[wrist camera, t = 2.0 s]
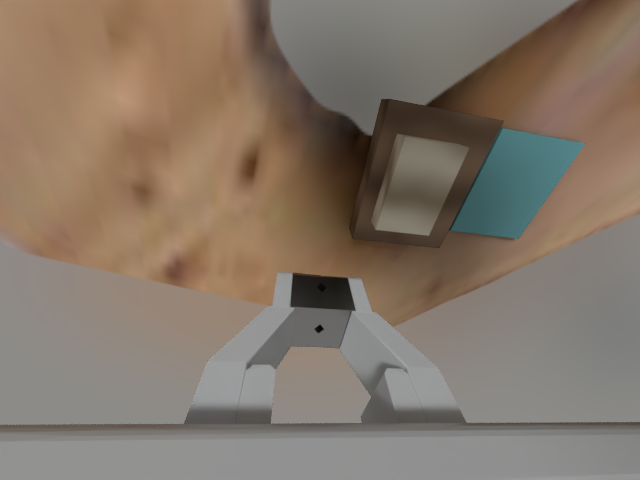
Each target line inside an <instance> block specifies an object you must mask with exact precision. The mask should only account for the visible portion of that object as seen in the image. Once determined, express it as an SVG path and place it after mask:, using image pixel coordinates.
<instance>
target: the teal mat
mask: <svg viewBox="0 0 640 480" xmlns="http://www.w3.org/2000/svg"><path fill="white" fill-rule="evenodd" d="M584 145H585V143H580V142H574V141H569V140H564V139H558V138H553V137H547V136H542V135H537V134H531V133H526V132H521V131H515V130H510V129H505V128H500V130H499V131H498V133H497V135H496V137H495V139H494V141H493V143H492V145H491V147H490V149H489V151H488V153H487V155H486V157H485V159H484V161H483V163H482V165H481V167H480V169H479V171H478V173H477V175H476V177H475V179H474V181H473V183H472V185H471V187H470V189H469V191H468V193H467V195H466V197H465V199H464V201H463V203H462V205H461V207H460V209H459V210H458V212H457V214H456V216H455V218H454V220H453V222H452V224H451V226H450V228H449V230H450V231H456V232H465V233H473V234H482V235H490V236H499V237H508V238H516V239H519V237H520V236H521V234H522V233H523V232H524V230H525V229H526V227H527V226H528V224H529V223H530V222H531V220H532V219H533V217H534V216H535V215H536V213H537V212H538V210H539V209H540V207H541V206H542V205H543V203H544V202H545V200H546V199H547V197H548V196H549V195H550V193H551V192H552V190H553V189H554V187H555V186H556V185H557V183H558V182H559V180H560V179H561V177H562V176H563V175H564V173H565V172H566V170H567V169H568V167H569V166H570V165H571V163H572V162H573V160H574V159H575V158H576V156H577V155H578V153H579V152H580V150H581V149H582V148H583V146H584Z"/></svg>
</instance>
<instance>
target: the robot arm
mask: <svg viewBox="0 0 640 480" xmlns="http://www.w3.org/2000/svg"><path fill="white" fill-rule="evenodd" d="M290 346H294V347H295V346H297V347H303V346H304V347H327V348H340V351H341V352H342V354H343V355H344V357H345V358H346V360H347V361H348V363H349V364H350V366H351V367H352V369H353V370H354V372H355V373H356V375H357V376H358V378H359V379H360V381H361V382H362V383H363V385H364V386H365V388H366V389H367V391H368V392H369V394H370V395H371V399H370V401H369V403H368V404H367V406H366V408H365V410H364V412H363V414H362V416H361V421H362V423H324V424H323V423H316V424H315V423H312V424H309V423H306V424H305V423H302V424H271V414H272V404H273V393H274V383H275V372H276V368H277V367H278V365H279V364H280V362H281V361H282V359H283V358H284V356H285V355H286V353H287V352H288V350H289V349H290ZM0 480H640V422H591V423H590V422H580V423H579V422H577V423H575V422H574V423H466V421H465V419H464V417H463V415H462V413H461V411H460V409H459V407H458V405H457V403H456V401H455V399H454V397H453V395H452V393H451V391H450V389H449V387H448V386H447V383H446V381H445V379H444V377H443V375H442V373H441V371H440V370H439V368H437V366H436V365H434V364H433V363H432V362H431V361H430V360H429V359H428V358H427V357H426V356H424V355H423V354H422V353H421V352H420V351H419V350H418V349H417V348H416V347H414V346H413V345H412V344H411V343H410V342H409V341H408V340H406V338H404V337H403V336H402V335H401V334H400V333H399V332H398V331H396V329H394V328H393V327H392V326H391V325H390V324H389V323H388V322H387V321H386V320H384V319H383V318H382V317H381V316H380V315H379V314H378V313H373V312H372V309H371V306H370V303H369V300H368V297H367V294H366V291H365V288H364V285H363V282H362V280H361V279H360V278H353V277H333V276H320V275H311V274H301V273H293V274H292V273H290V272H279V271H278V274H277V279H276V285H275V291H274V298H273V304H272V306H267V307H266V308H265V309H264V310H263V311H262V312H261V313H259V314H258V315H257V316H256V317H255V318H254V319H253V320H252V321H251V322H250V323H249V324H248V325H247V326H245V327H244V328H243V329H242V330H241V331H240V332H239V333H238V334H237V335H236V336H235V337H233V339H231V340H230V341H229V342H228V343H227V344H226V345H225V346H224V347H223V348H222V349H220V350H219V351H218V352H217V353H216V354H215V355H214V356H213V357H212V358H211V359H210V360H209V361H208V362H207V365H206V367H205V370H204V372H203V375H202V378H201V380H200V383H199V386H198V388H197V391H196V393H195V396H194V399H193V401H192V404H191V407H190V409H189V412H188V414H187V417H186V420H185V422H184V424H79V425H78V424H73V425H72V424H71V425H70V424H69V425H67V424H64V425H0Z"/></svg>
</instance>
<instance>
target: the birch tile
mask: <svg viewBox="0 0 640 480" xmlns="http://www.w3.org/2000/svg"><path fill="white" fill-rule="evenodd" d="M468 150H469V147H466V146H462V145H458V144H454V143H448V142H442V141H436V140H430V139H425V138H419V137H413V136H407V135H401V134H397V136H396V139H395V142H394V146H393V149H392V152H391V156H390V159H389V162H388V166H387V169H386V172H385V176H384V179H383V182H382V186H381V189H380V192H379V196H378V199H377V202H376V206H375V209H374V212H373V216H372V219H371V222H372V224H373V226H374V228H375V230H382V231H391V232H399V233H408V234H417V235H426V236H429V234H430V232H431V230H432V228H433V226H434V223H435V221H436V219H437V217H438V215H439V213H440V211H441V208H442V206H443V204H444V202H445V200H446V198H447V195H448V193H449V191H450V189H451V187H452V185H453V182H454V180H455V178H456V176H457V174H458V172H459V169H460V167H461V165H462V163H463V161H464V159H465V156H466V154H467V152H468Z"/></svg>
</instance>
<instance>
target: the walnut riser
mask: <svg viewBox="0 0 640 480" xmlns="http://www.w3.org/2000/svg"><path fill="white" fill-rule="evenodd" d="M503 122H504V121H502V120H497V119H491V118H486V117H481V116H476V115H471V114H465V113H460V112H455V111H450V110H444V109H439V108H434V107H429V106H424V105H418V104H413V103H407V102H402V101H397V100H392V99H382V100H381V103H380V107H379V112H378V115H377V120H376V123H375V127H374V131H373V135H372V139H371V143H370V147H369V151H368V155H367V159H366V163H365V167H364V171H363V175H362V179H361V183H360V187H359V191H358V195H357V199H356V203H355V207H354V211H353V215H352V219H351V223H350V227H349V230H350V232H351V235H352V238H353V239H359V240H368V241H378V242H387V243H397V244H406V245H416V246H425V247H435V248H440V246H441V244H442V242H443V240H444V238H445V236H446V234H447V232H448V230H449V228H450V226H451V224H452V222H453V220H454V218H455V216H456V214H457V212H458V210H459V209H460V207H461V205H462V203H463V201H464V199H465V197H466V195H467V193H468V191H469V189H470V187H471V185H472V183H473V181H474V179H475V177H476V175H477V173H478V171H479V169H480V167H481V165H482V163H483V161H484V159H485V157H486V155H487V153H488V151H489V149H490V147H491V145H492V143H493V141H494V139H495V137H496V135H497V133H498V131H499V130H500V128H501V126H502V124H503ZM397 134H401V135H407V136H413V137H419V138H425V139H430V140H436V141H442V142H448V143H454V144H458V145H462V146H466V147H469V150H468V152H467V154H466V156H465V159H464V161H463V163H462V165H461V167H460V169H459V172H458V174H457V176H456V178H455V180H454V182H453V185H452V187H451V189H450V191H449V193H448V195H447V198H446V200H445V202H444V204H443V206H442V208H441V211H440V213H439V215H438V217H437V219H436V221H435V223H434V226H433V228H432V230H431V232H430V234H429V236H426V235H417V234H408V233H399V232H391V231H382V230H375V228H374V226H373V224H372V222H371V219H372V216H373V212H374V209H375V206H376V202H377V199H378V196H379V192H380V189H381V186H382V182H383V179H384V176H385V172H386V169H387V166H388V162H389V159H390V156H391V152H392V149H393V146H394V142H395V139H396V136H397Z"/></svg>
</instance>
